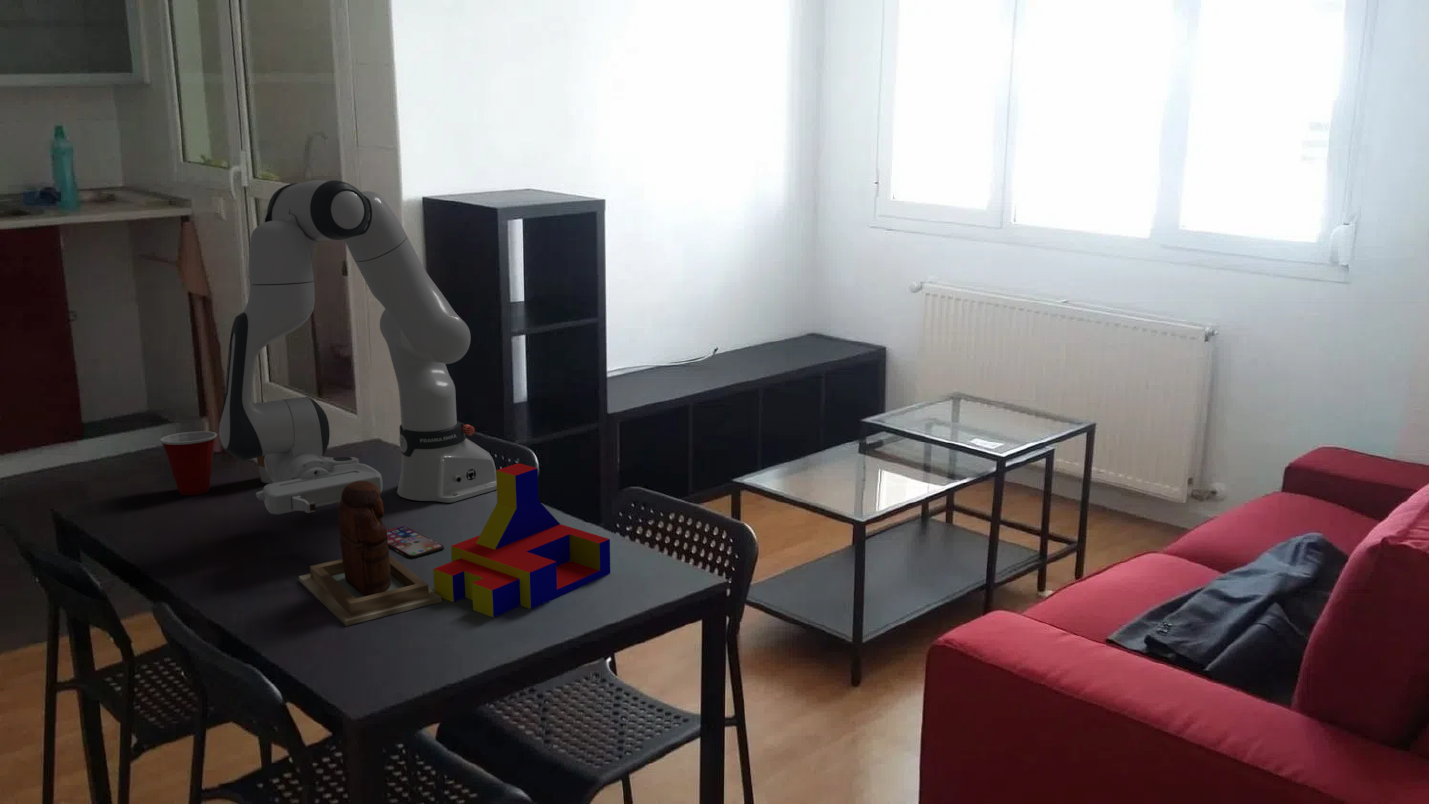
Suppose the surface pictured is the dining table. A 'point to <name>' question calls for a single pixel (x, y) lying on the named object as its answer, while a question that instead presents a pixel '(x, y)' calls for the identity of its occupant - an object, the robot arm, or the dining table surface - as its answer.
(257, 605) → the dining table surface
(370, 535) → the wooden figurine
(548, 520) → the building blocks toy
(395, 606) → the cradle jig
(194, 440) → the plastic cup
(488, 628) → the dining table surface
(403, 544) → the smartphone
